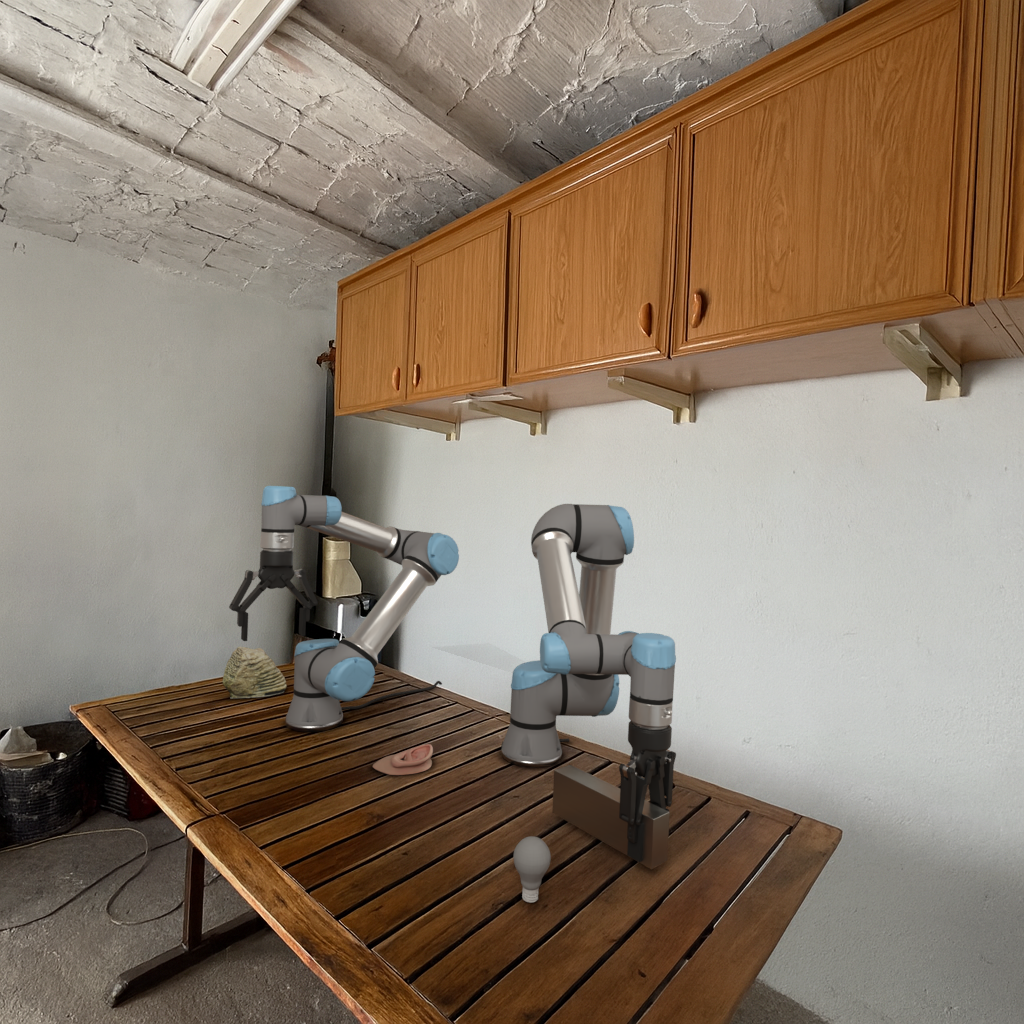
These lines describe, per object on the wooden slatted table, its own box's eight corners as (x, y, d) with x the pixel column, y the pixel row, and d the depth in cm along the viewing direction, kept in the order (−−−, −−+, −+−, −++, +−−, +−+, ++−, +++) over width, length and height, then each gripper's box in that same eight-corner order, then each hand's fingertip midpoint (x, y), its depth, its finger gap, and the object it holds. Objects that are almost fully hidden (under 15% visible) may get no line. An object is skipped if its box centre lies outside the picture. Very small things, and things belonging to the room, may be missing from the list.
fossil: (218, 695, 195) (220, 647, 195) (278, 685, 208) (279, 640, 207) (228, 703, 189) (230, 653, 188) (289, 692, 201) (290, 645, 201)
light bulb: (510, 888, 105) (512, 829, 104) (546, 888, 105) (548, 829, 105) (513, 912, 99) (515, 849, 98) (551, 912, 99) (554, 849, 99)
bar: (552, 812, 127) (554, 769, 127) (568, 806, 130) (570, 764, 130) (651, 869, 109) (653, 819, 108) (667, 860, 112) (669, 811, 111)
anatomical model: (367, 754, 146) (387, 737, 157) (366, 771, 146) (386, 752, 158) (422, 762, 144) (438, 743, 155) (421, 779, 144) (437, 759, 155)
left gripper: (225, 551, 142) (221, 645, 143) (333, 550, 157) (329, 635, 158) (217, 548, 148) (214, 639, 149) (322, 547, 163) (319, 629, 164)
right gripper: (635, 739, 104) (629, 880, 104) (696, 719, 115) (690, 846, 116) (600, 726, 109) (594, 860, 110) (662, 708, 121) (657, 829, 121)
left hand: (273, 637), depth 153 cm, fingers open, 13 cm apart
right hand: (644, 852), depth 113 cm, fingers closed on bar, 5 cm apart
